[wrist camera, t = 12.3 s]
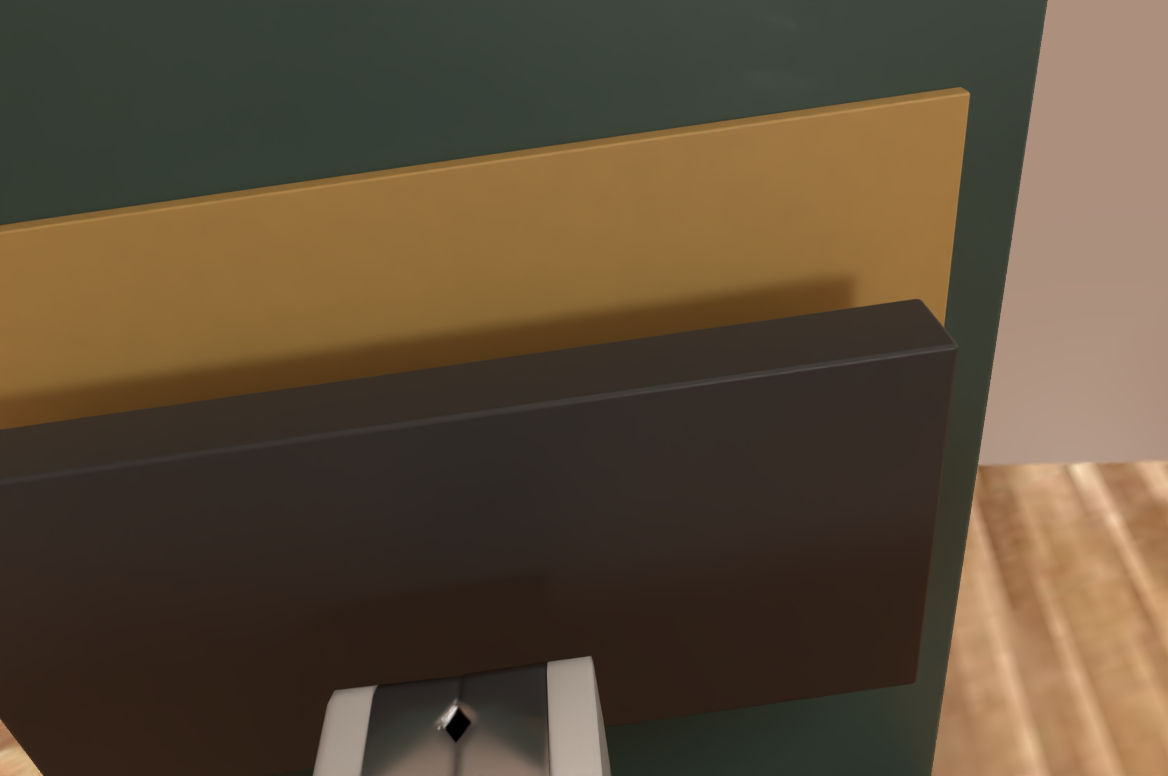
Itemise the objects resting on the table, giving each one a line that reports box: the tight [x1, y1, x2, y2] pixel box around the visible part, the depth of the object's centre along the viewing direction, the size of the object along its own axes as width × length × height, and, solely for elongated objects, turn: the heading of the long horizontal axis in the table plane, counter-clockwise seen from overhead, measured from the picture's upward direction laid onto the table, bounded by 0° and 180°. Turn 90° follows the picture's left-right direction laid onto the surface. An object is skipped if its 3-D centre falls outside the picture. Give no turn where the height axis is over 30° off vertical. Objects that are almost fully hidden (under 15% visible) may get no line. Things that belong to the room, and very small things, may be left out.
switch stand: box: [0, 0, 1047, 776], centre depth 15 cm, size 12×17×21 cm
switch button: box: [0, 299, 958, 776], centre depth 13 cm, size 1×13×6 cm, turn 94°
